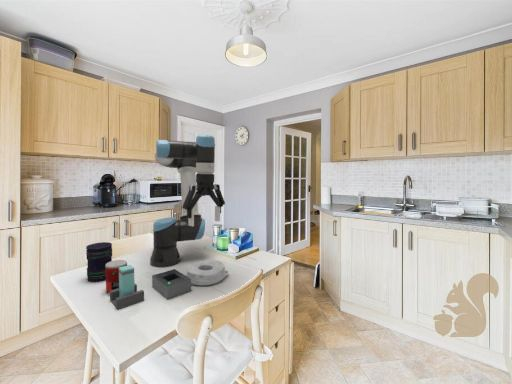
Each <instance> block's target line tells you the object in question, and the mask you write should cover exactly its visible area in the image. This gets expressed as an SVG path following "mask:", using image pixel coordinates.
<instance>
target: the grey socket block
mask: <svg viewBox="0 0 512 384" xmlns="http://www.w3.org/2000/svg"><path fill="white" fill-rule="evenodd" d="M151 283H152V284H151V287H152V288H153V290H155V291H156V292H157V293H159V294H160V295H161V296H162V297H164V298H165V299H166V300H171V299H174V298H176V297H178V296H182V295H184V294H186V293H188V292H192V284H191V279H190V278H189V277H187V275H185V274H184V273H182V272H180V271H179V270H177V269H175V268H174V269H170V270H166V271H164V272H159V273H157V274H152V276H151Z"/></svg>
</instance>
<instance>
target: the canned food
mask: <svg viewBox="0 0 512 384" xmlns="http://www.w3.org/2000/svg"><path fill="white" fill-rule="evenodd" d="M124 266H128V262H127V260H124V259H116V260H112V261H110V262H108V263H106V266H105V273H106V280H105V290H106V292H107V293H108V294H110V291H112V290H115V289H118V288H119V267H124Z"/></svg>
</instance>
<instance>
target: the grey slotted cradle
mask: <svg viewBox="0 0 512 384" xmlns="http://www.w3.org/2000/svg"><path fill="white" fill-rule="evenodd" d="M134 290H135V292H134V293H130V294H127V295H124V296H121V297H119V288H118V289H115V290H112V291H110V293H109V300H110V302H111V303H112V304H113V306H114V307H115V309H116V310H118V311H119V310H122V309H123V308H126V307H130V306H132V305H135V304H138V303H141V302H144V301H145V291H144V290H143V289H140V290H138V285H137V284H136V283H134Z"/></svg>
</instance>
